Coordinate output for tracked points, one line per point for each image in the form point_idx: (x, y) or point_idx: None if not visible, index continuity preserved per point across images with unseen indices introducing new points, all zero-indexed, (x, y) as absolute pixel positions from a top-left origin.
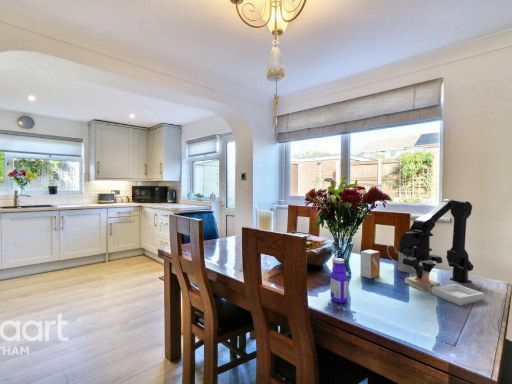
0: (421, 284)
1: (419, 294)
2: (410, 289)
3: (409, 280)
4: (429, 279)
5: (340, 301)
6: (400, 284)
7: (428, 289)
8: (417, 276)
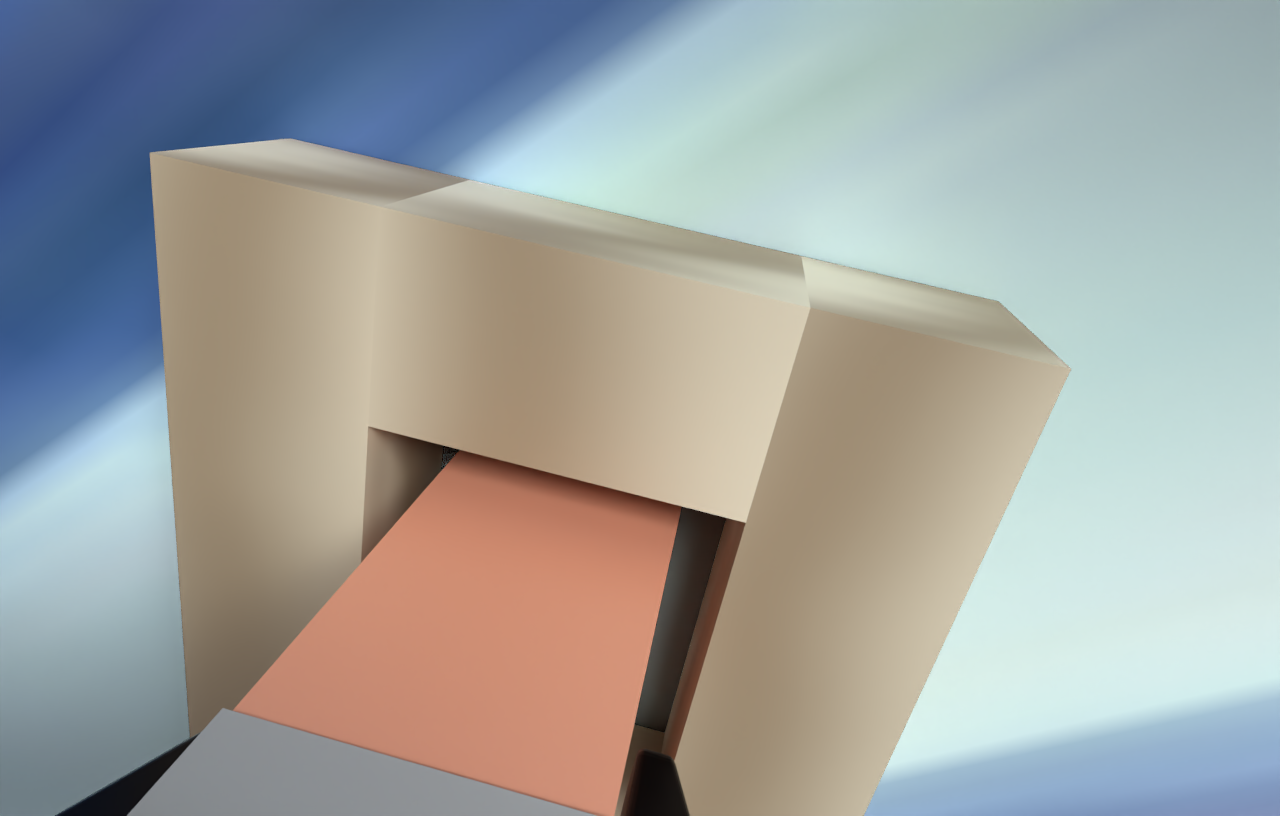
0: None
1: (37, 722)
2: (56, 504)
3: (188, 367)
4: (858, 772)
5: None
6: (56, 131)
7: None
8: None
